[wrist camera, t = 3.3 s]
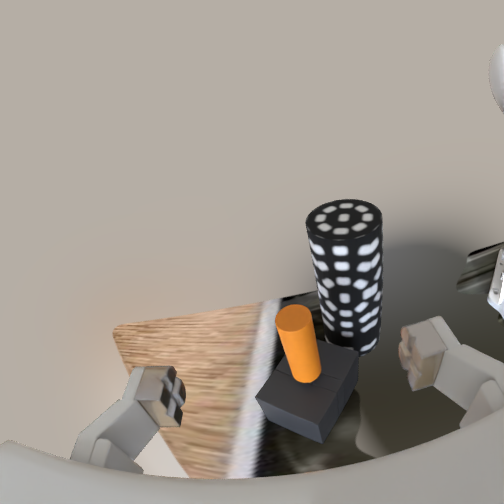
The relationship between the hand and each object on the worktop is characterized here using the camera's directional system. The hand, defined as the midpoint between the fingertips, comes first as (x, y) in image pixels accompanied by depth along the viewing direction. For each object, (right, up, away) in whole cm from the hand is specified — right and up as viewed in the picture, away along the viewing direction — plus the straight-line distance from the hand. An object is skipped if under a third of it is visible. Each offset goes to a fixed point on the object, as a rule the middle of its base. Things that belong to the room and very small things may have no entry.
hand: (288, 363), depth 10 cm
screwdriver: (+7, -15, +25) cm, 30 cm away
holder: (+7, -15, +25) cm, 30 cm away
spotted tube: (+14, -9, +32) cm, 36 cm away
